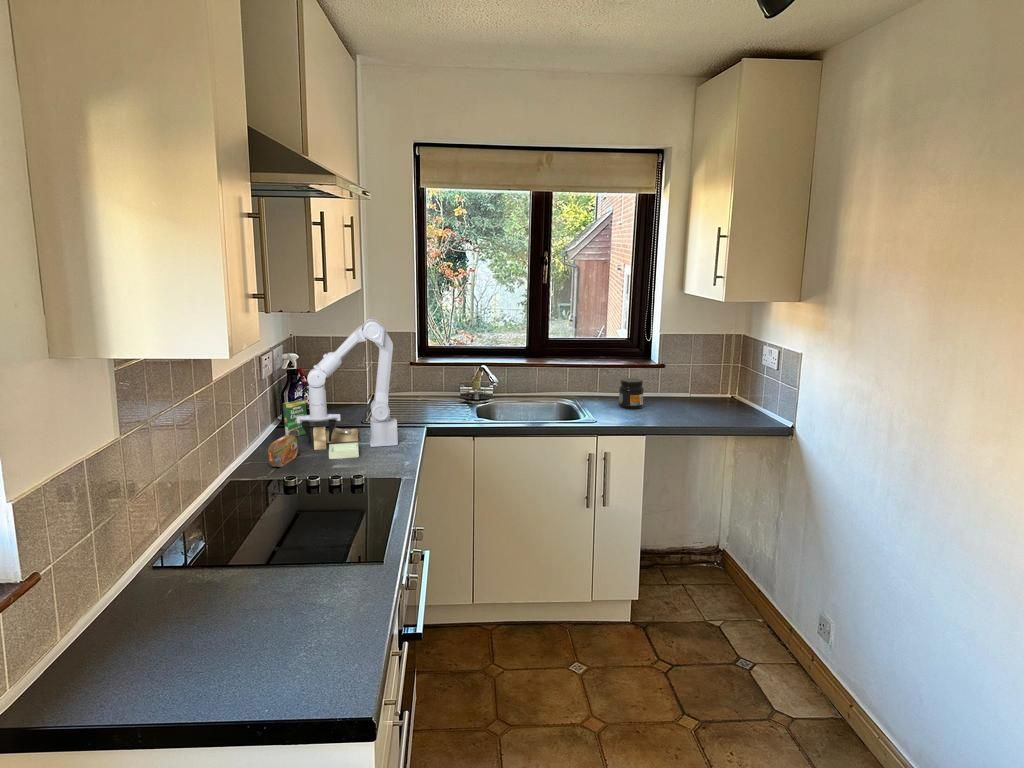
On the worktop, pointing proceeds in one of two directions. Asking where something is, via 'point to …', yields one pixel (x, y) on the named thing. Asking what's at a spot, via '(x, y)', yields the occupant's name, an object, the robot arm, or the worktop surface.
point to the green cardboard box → (294, 417)
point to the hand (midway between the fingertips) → (320, 441)
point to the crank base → (342, 436)
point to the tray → (343, 450)
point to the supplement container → (631, 393)
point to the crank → (342, 431)
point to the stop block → (319, 438)
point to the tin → (283, 450)
